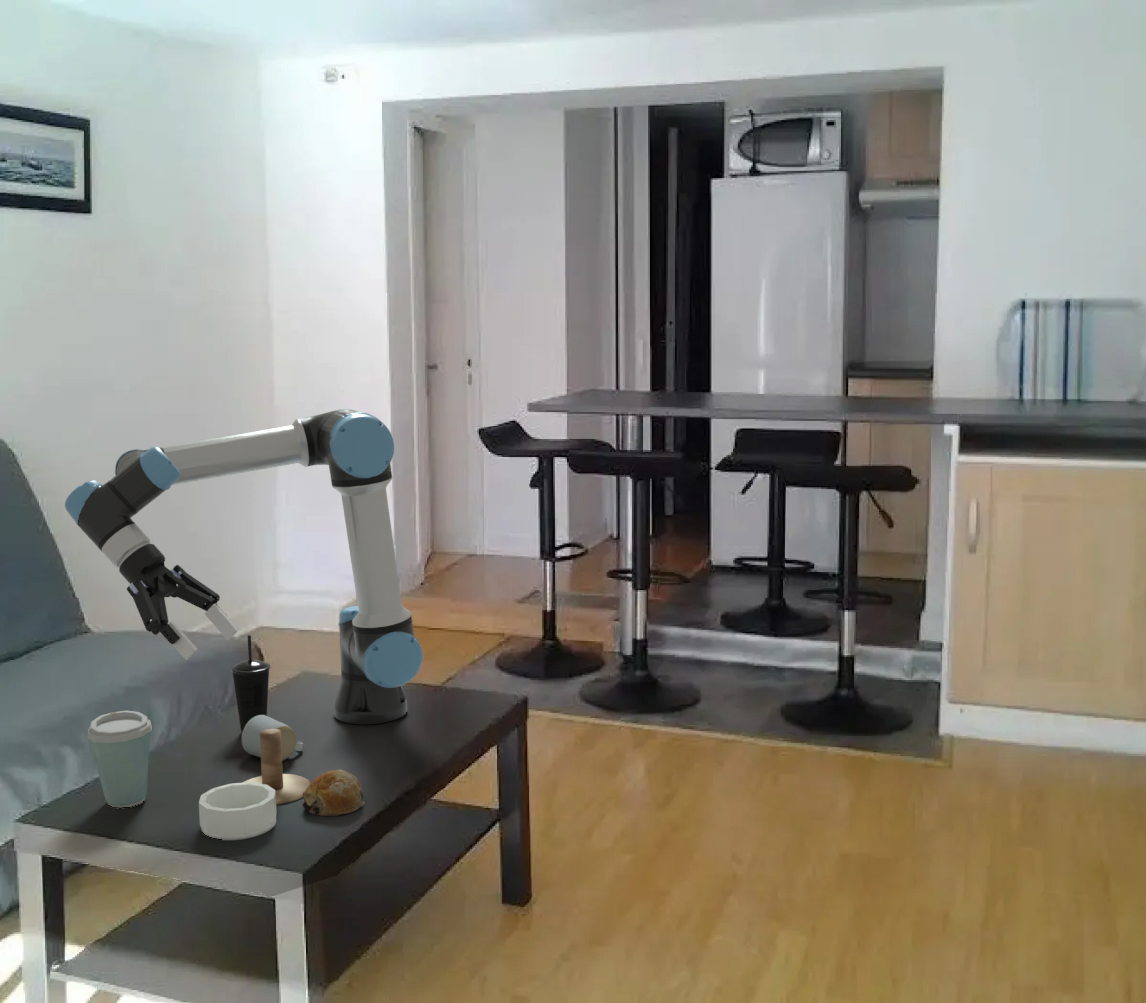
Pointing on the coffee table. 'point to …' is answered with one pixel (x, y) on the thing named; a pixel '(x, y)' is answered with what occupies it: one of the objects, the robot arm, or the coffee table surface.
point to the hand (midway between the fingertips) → (213, 644)
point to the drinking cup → (251, 687)
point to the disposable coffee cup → (122, 756)
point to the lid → (278, 770)
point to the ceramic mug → (262, 723)
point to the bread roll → (333, 794)
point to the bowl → (237, 811)
